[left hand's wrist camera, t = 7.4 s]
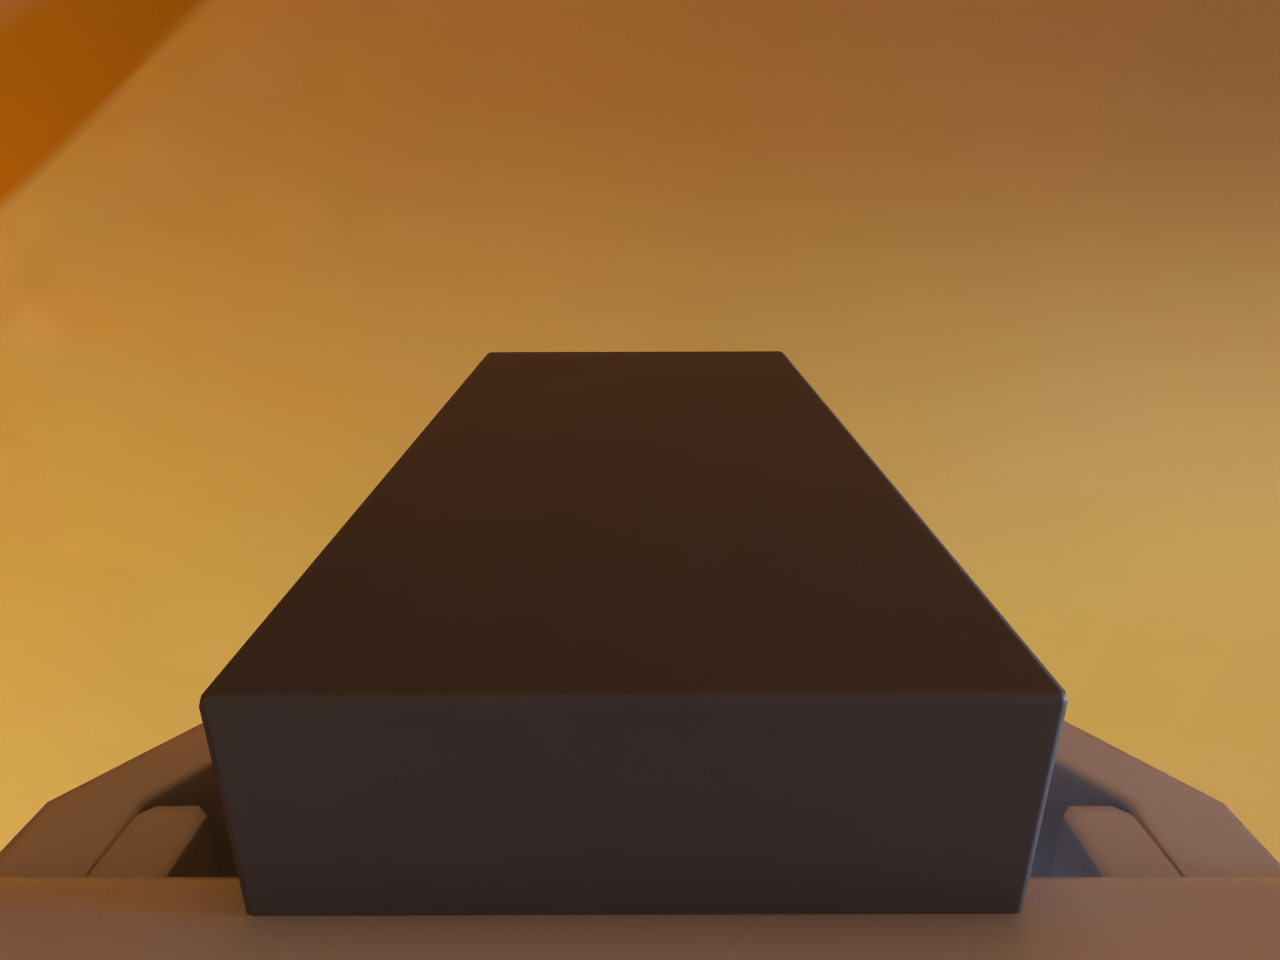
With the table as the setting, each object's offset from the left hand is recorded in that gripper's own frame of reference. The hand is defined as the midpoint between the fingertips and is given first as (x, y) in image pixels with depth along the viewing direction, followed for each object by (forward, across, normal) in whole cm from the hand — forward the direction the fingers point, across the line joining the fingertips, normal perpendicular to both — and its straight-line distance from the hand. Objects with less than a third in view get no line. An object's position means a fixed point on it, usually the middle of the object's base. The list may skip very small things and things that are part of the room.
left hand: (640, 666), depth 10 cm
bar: (+4, 0, -10) cm, 11 cm away
